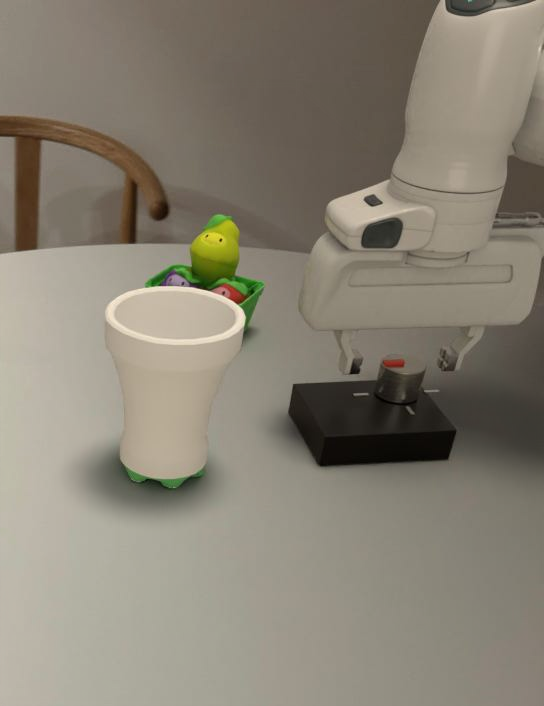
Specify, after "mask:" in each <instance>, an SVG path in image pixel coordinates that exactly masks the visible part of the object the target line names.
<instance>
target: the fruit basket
mask: <svg viewBox="0 0 544 706" xmlns="http://www.w3.org/2000/svg"><path fill="white" fill-rule="evenodd" d="M233 221H234V217H232V216H230V215H227V216H226V215H225V214H221V213H217V214H215V215H213V216H212V217H210V219H209V220H208V222H207V224H206V225H205V226H204V227H202V232H201V233H200V234H199V235H197V236H196V238H195V239H194V240H193V241H192V243H191V244H190V247H189V254H190V261H191V262H190V263H191V265H185V264H179V263H177V264H172V265H170V266H168V267H167V268H165V269H163V270H161V271H160V272H158V273H156V274H155V275H154V276H152V277H151V278H149V279H148V280H146V281H145V282H144V288H149V287H157V286H179V287H192V288H197V289H201V290H206V291H210V292H213V293H216V294H219V295H222V296H224V297H226V298H228V299H229V300H231V301H233V302H234V303H236V304H237V305H238V306H239V307H241V308H242V309H243V311H244V314H245V317H246V319H245V325H244V332H245V331H247V329H248V328H249V325H250V322H251V320H252V316H253V315H254V312H255V310H256V307H257V304H258V301H259V299H260V297H261V296H262V295H263V292H264V291H265V290H264V289H265V288H266V284H265V282H264V281H261V280H256V279H252V278H247V277H243V276H240V275H236V272H237V268H238V266H239V263H240V246H239V245H240V243H239V241H240V230H239V227H238V225H236V224H235V222H233Z"/></svg>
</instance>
